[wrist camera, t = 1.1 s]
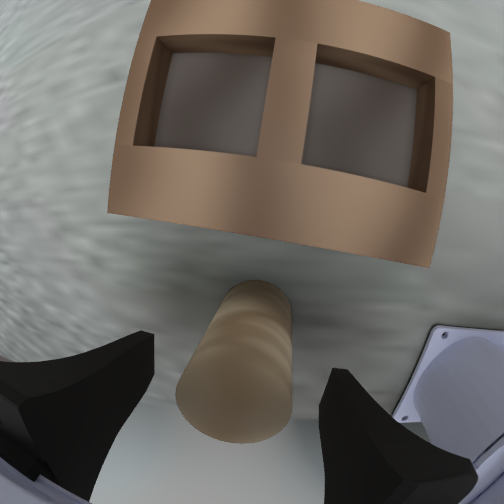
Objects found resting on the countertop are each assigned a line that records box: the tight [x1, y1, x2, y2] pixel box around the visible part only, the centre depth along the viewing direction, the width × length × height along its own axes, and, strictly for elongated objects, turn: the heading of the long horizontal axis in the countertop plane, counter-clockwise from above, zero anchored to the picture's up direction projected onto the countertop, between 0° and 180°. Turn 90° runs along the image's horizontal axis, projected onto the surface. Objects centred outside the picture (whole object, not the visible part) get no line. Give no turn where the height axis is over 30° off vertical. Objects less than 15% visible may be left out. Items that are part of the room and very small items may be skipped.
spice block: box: [107, 0, 453, 268], centre depth 13 cm, size 15×12×4 cm
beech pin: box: [176, 280, 292, 443], centre depth 13 cm, size 4×4×8 cm
